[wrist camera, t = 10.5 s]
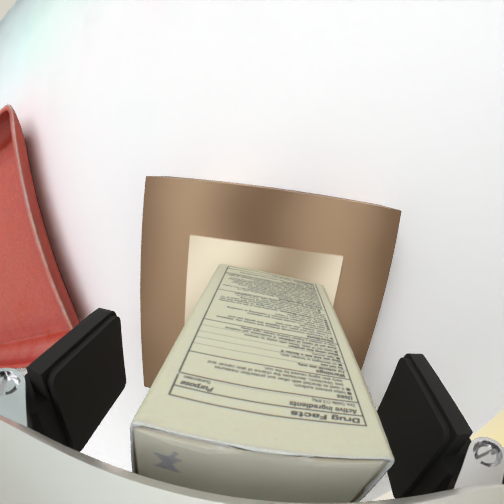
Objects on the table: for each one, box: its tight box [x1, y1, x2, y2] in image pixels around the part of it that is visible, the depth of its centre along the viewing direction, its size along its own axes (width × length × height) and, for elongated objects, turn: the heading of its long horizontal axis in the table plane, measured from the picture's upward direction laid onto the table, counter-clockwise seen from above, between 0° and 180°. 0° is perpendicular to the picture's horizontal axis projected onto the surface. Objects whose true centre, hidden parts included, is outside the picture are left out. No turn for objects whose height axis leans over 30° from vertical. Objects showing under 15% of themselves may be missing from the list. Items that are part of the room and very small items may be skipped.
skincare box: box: [130, 264, 394, 503], centre depth 10 cm, size 5×4×10 cm
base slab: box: [140, 176, 401, 388], centre depth 16 cm, size 12×12×3 cm
